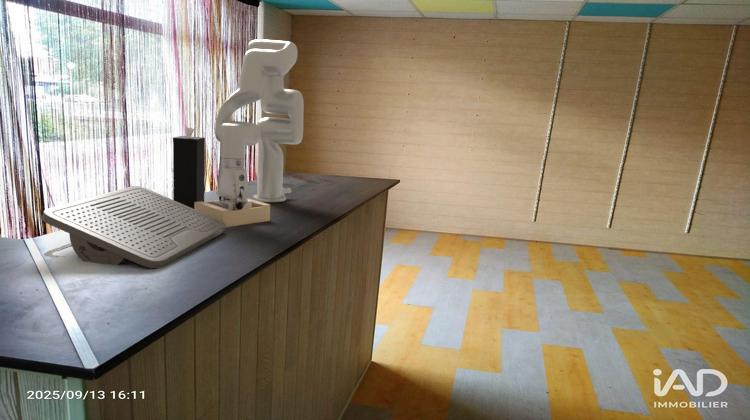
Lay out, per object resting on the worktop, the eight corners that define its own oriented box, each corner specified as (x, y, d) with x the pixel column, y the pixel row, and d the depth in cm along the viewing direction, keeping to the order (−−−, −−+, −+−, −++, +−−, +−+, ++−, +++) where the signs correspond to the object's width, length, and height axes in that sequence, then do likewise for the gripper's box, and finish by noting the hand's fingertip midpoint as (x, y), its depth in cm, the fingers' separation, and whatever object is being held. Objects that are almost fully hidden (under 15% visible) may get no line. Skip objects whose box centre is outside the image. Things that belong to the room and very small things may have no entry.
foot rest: (157, 280, 119) (156, 225, 116) (34, 264, 123) (31, 210, 120) (229, 236, 156) (230, 194, 154) (133, 225, 160) (133, 184, 158)
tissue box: (196, 213, 178) (197, 129, 172) (173, 212, 178) (172, 127, 172) (204, 209, 186) (205, 127, 180) (181, 207, 186) (181, 125, 180)
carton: (241, 213, 184) (241, 196, 182) (269, 222, 174) (270, 204, 173) (194, 220, 170) (194, 202, 168) (222, 230, 161) (223, 211, 159)
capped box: (241, 216, 178) (242, 198, 176) (251, 219, 175) (251, 201, 173) (213, 220, 169) (213, 201, 168) (222, 223, 166) (223, 204, 165)
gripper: (259, 166, 165) (257, 223, 169) (225, 159, 176) (225, 213, 180) (239, 167, 160) (238, 226, 164) (206, 160, 170) (205, 215, 174)
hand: (231, 219), depth 172 cm, fingers closed on capped box, 5 cm apart
